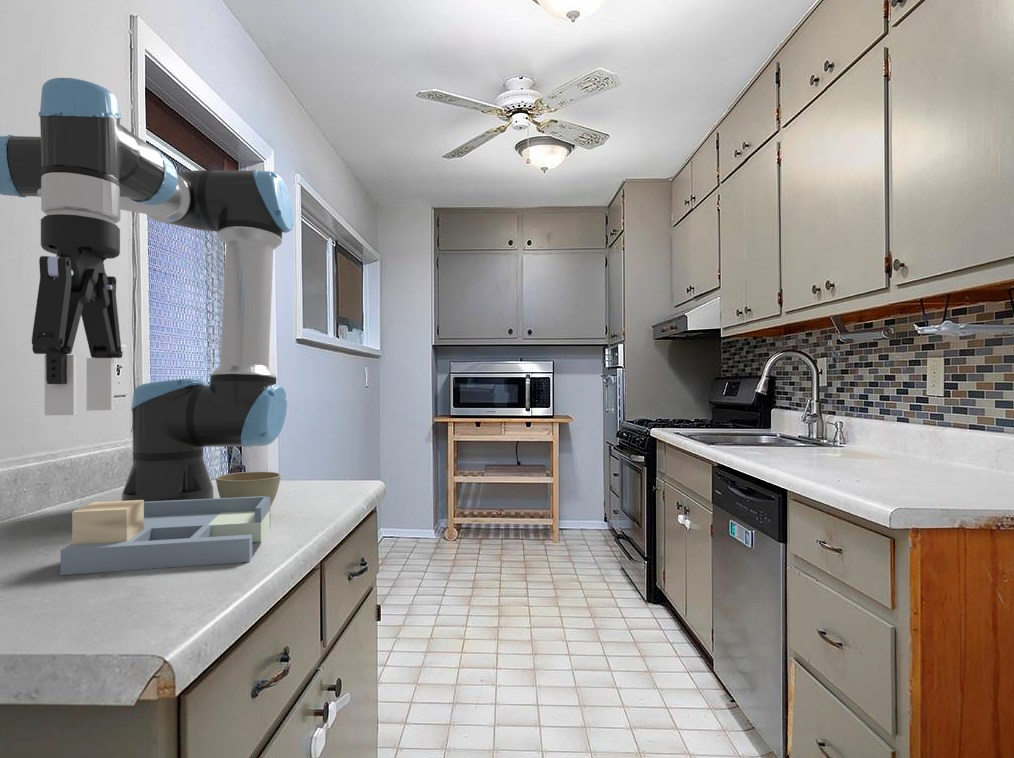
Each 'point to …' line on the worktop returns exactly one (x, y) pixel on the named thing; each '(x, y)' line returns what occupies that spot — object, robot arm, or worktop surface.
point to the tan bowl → (248, 484)
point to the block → (107, 521)
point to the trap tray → (180, 537)
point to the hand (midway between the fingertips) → (82, 412)
